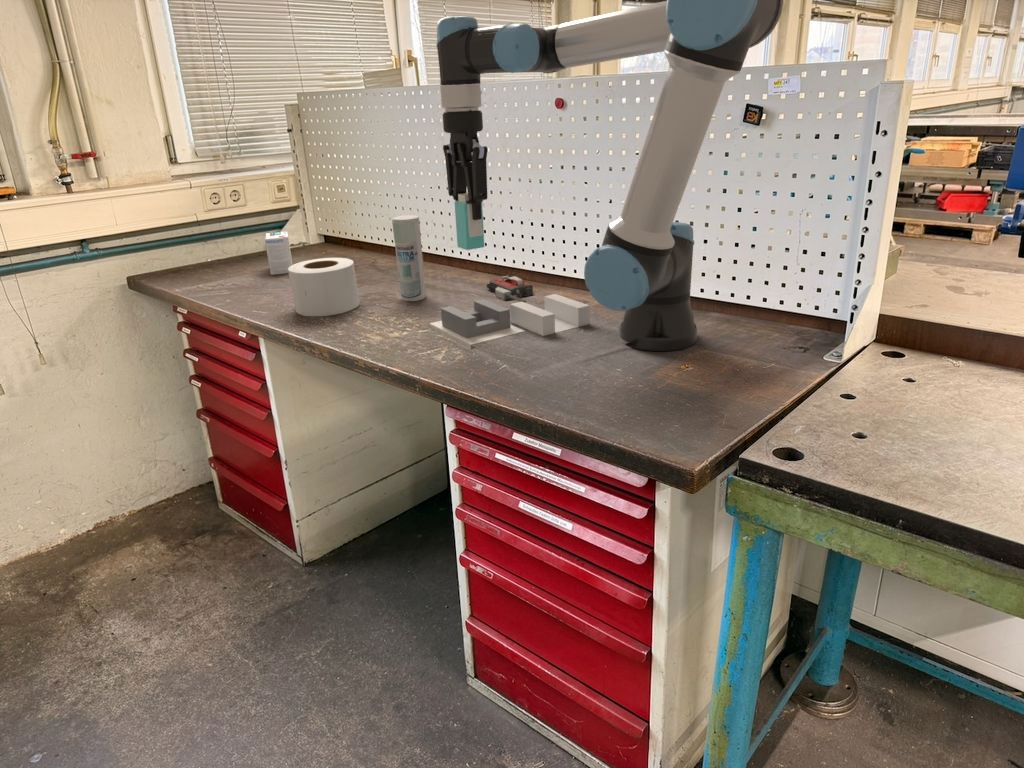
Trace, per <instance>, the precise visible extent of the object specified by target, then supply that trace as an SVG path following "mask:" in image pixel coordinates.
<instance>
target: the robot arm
mask: <svg viewBox="0 0 1024 768" xmlns="http://www.w3.org/2000/svg"><path fill="white" fill-rule="evenodd" d="M783 5H784V0H663V1H661V2H659V1H658V2H655V3H654V2H653V3H649V4H645V5H642V6H636V7H632V8H627V9H622V10H618V11H614V12H610V13H604V14H600V15H596V16H595V15H594V16H591V17H586V18H583V19H578V20H576V19H575V20H573V21H569V22H564V23H563V22H562V23H560V24H554V25H549V26H545V27H532V26H531V25H530V24H528V23H525V22H524V23H523V22H522V23H517V22H516V23H514V22H510V23H506V24H501V25H500V24H499V25H493V26H483V27H479V25H478V20H477V18H476V17H474V16H467V15H466V16H465V15H461V16H460V15H459V16H445V17H442V18H440V19H438V21H437V23H436V48H437V58H438V69H439V78H440V81H439V83H440V86H439V88H440V89H439V90H440V99H441V100H440V101H441V108H442V109H443V110H444V111H443V113H442V127H443V128H442V129H443V132H445V133H447V134H449V135H450V138H449V143H448V144H443V146H442V149H443V154H444V159H445V169H446V170H445V171H446V180H447V190H448V191H447V193H448V195H449V197H452V199H453V200H454V203H455V202H458V194H463V193H468V197H469V201H466V203H467V213H468V229H469V237H476V236H482V214H481V202H482V203H483V202H484V201H486V200H488V172H487V171H488V170H487V158H488V149H489V148H488V146H486V145H485V146H482V145H481V144H480V141H479V140H480V139H479V137H478V133H479V132H481V131H483V130H484V129H483V128H484V121H483V120H484V119H483V112H482V110H479V108H481V107H482V93H483V92H482V89H481V84H482V83H481V75H485V74H504V73H505V74H506V73H507V74H509V73H510V74H517V73H520V74H521V73H543V74H553V73H557V72H561V71H562V70H565V69H569V68H576V67H580V66H586V65H588V66H589V65H593V64H598V63H604V62H610V61H616V60H622V59H627V58H634V57H640V56H645V55H651V54H658V53H662V52H664V55H665V58H666V60H667V62H668V64H669V65H668V70H667V73H666V77H665V79H664V83H663V85H662V88H661V92H660V95H659V97H658V101H657V103H656V107H655V110H654V113H653V116H652V119H651V122H650V125H649V127H648V128H649V129H648V131H647V135H646V137H645V140H644V144H643V146H642V149H641V152H640V156H639V159H638V162H637V165H636V169H635V172H634V175H633V178H632V180H631V183H630V186H629V190H628V192H627V196H626V198H625V201H624V205H623V207H622V211H621V214H620V215H619V216H616V217H614V218H613V219H611V220H610V221H609V223H608V224H607V228H606V231H605V234H604V237H603V239H602V243H601V246H599V247H598V248H596V249H594V250H593V252H592V253H591V254H590V255H589V256H588V258H587V260H586V262H585V264H584V270H583V271H584V272H583V275H584V282H585V286H586V288H587V289H588V291H589V292H590V295H591V297H592V298H593V300H595V301H596V302H597V303H598V304H599V305H600V306H602V307H604V308H606V309H607V310H611V311H614V312H623V311H625V313H624V314H623V315H624V316H623V320H622V322H621V323H620V326H619V337H620V338H621V339H622V340H624V341H625V342H626V343H624V345H626V346H628V347H631V348H634V349H636V350H637V349H638V350H643V351H651V352H652V351H653V352H668V351H669V352H671V351H678V350H683V349H686V348H689V347H691V346H693V345H694V344H696V342H697V341H698V326H697V324H696V323H695V319H694V313H693V309H692V304H691V287H692V273H693V272H692V271H693V255H694V245H695V240H694V228H693V226H692V225H690V224H689V223H686V222H677V221H674V220H675V217H676V215H677V212H678V211H679V210H678V209H679V206H680V203H681V202H682V198H683V196H684V194H685V190H686V188H687V185H688V183H689V180H690V178H691V177H690V176H691V175H692V172H693V170H694V166H695V163H696V161H697V158H698V155H699V153H700V152H701V151H700V150H701V147H702V145H703V143H704V140H705V137H706V136H707V135H706V134H707V131H708V129H709V126H710V125H711V121H712V118H713V115H714V112H715V110H716V108H717V105H718V102H719V99H720V97H721V95H722V91H723V89H724V86H725V83H726V82H727V81H728V80H730V79H731V78H733V77H735V76H737V75H738V74H740V72H741V71H742V68H743V65H744V62H745V60H746V57H747V55H748V52H749V50H750V48H753V47H755V46H757V45H759V44H761V43H762V42H764V40H766V39H767V38H768V37H769V36H770V35H771V34H772V33H773V32H774V29H775V28H776V27H777V24H778V23H779V21H780V19H781V15H782V14H783V13H782V12H783V7H784V6H783Z"/></svg>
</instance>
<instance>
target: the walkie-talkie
mask: <svg viewBox="0 0 1024 768" xmlns="http://www.w3.org/2000/svg"><path fill="white" fill-rule="evenodd" d="M524 281H525V280H524V279H523V278H520V277H518V276H509V275H505V276H504V275H503V276H501V277H497V278H491V280H489V283H487V284H486V288H488V289H489V291H491V292H494V293H495V296H496V298H498V299H501V300H503V301H507V300H512V301H518V302H524V303H527V301H526V300H525V299H522V297H529V296H532V295H534V290H533V289H534V288H533V287H534V286H533V285H532V284H530V283H527V282H524Z"/></svg>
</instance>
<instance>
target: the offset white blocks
mask: <svg viewBox="0 0 1024 768" xmlns="http://www.w3.org/2000/svg"><path fill="white" fill-rule="evenodd" d="M543 299H544V302H543V303H544V309H543V308H540V307H538V306H535V305H532V304H529V303H527V302H520V301H518V302H517V301H516V302H513V303H510V304H509V309H510V324H514V325H517V326H519V327H521V328H523V329H526V330H528V331H531V332H533V333H535V334H538V335H540V336H543V337H545V336H549V335H552V334H556V333H560V332H563V331H567V330H571V329H576V328H580V327H583V326H588V325H590V322H591V321H590V317H591V316H590V314H591V313H590V309H591V308H590V305H589V304H586V303H584V302H581V301H578V300H574V299H572V298H569V297H565V296H563V295H560V294H556V293H553V294H549V295H545V296H544V297H543Z"/></svg>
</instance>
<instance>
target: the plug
mask: <svg viewBox="0 0 1024 768" xmlns="http://www.w3.org/2000/svg"><path fill="white" fill-rule="evenodd" d="M466 201H469V197H468V192H466V193H463V194H458V202H455V201H454V213H455V216H454V217H455V226H456V227H455V228H456V242H457V248H460V249H463V250H466V251H469V250H475V249H481V248H485V237H484V236H485V232H484V216H483V215H484V214H483V213H484V212H483V211H484V210H483V201H482V202H481V214H482V236H476V237H469V229H468V213H467V203H466Z"/></svg>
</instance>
